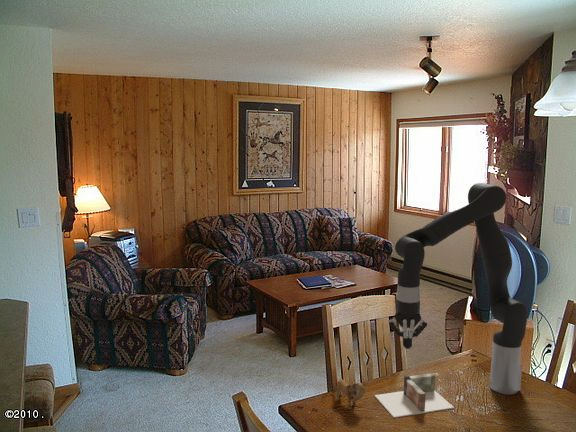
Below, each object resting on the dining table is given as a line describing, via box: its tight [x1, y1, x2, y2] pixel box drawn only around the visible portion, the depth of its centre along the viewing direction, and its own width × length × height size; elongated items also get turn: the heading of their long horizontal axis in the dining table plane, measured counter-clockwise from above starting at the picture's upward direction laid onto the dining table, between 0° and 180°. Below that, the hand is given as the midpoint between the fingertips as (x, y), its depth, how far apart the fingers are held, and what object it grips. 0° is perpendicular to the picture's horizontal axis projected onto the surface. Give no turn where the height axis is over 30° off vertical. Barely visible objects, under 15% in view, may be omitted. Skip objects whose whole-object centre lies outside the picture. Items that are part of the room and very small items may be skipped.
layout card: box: [374, 390, 455, 419], centre depth 167 cm, size 22×14×1 cm, turn 106°
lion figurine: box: [331, 378, 368, 410], centre depth 166 cm, size 15×5×9 cm, turn 39°
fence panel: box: [406, 380, 426, 410], centre depth 166 cm, size 10×2×6 cm, turn 14°
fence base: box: [403, 372, 436, 395], centre depth 173 cm, size 12×2×6 cm, turn 106°
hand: (407, 347), depth 165 cm, fingers closed
